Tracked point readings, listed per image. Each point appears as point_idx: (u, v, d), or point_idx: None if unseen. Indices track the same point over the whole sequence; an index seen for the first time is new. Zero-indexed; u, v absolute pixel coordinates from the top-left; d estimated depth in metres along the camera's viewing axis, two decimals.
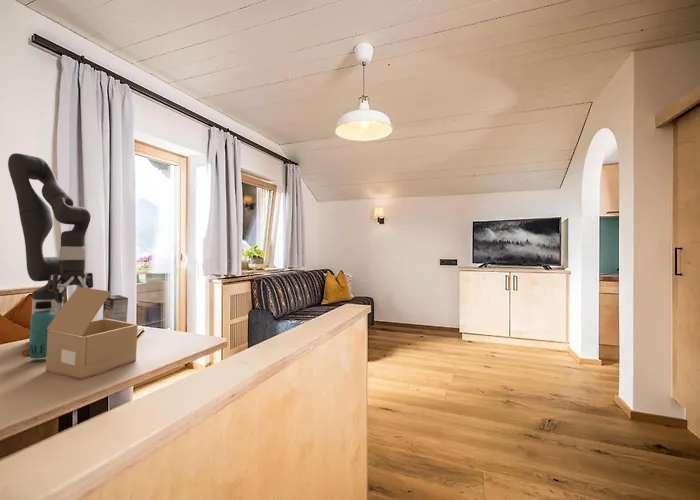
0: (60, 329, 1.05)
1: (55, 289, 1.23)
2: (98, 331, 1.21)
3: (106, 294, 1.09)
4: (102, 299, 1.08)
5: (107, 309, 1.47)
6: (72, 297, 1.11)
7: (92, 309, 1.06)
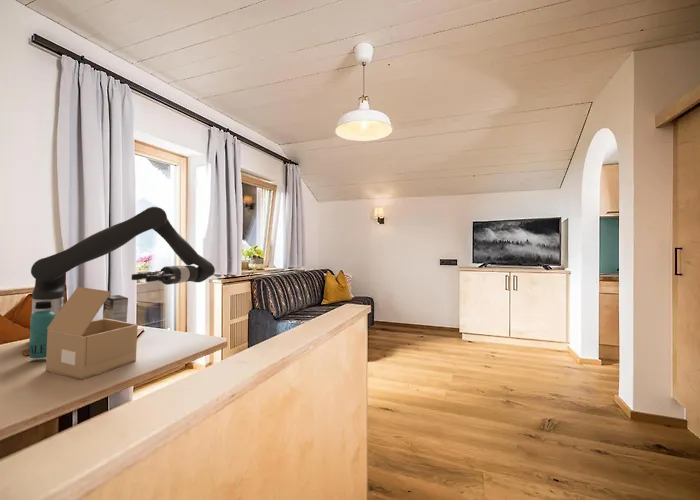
0: (60, 329, 1.05)
1: None
2: (98, 331, 1.21)
3: (106, 294, 1.09)
4: (102, 299, 1.08)
5: (107, 309, 1.47)
6: (72, 297, 1.11)
7: (92, 309, 1.06)
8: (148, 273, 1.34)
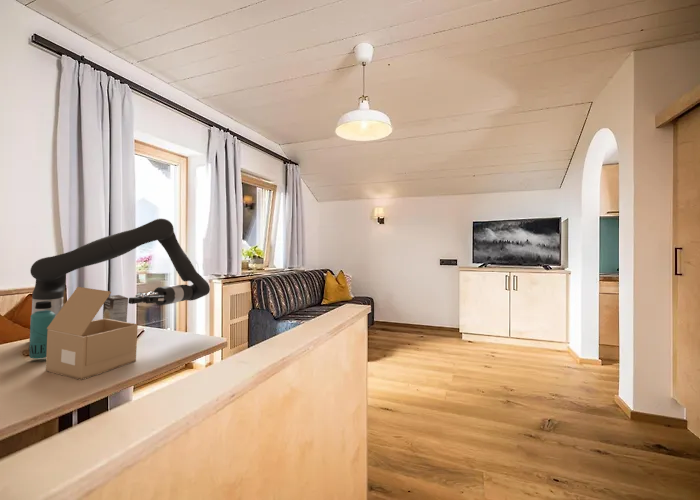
0: (60, 329, 1.05)
1: None
2: (98, 331, 1.21)
3: (106, 294, 1.09)
4: (102, 299, 1.08)
5: (107, 309, 1.47)
6: (72, 297, 1.11)
7: (92, 309, 1.06)
8: (145, 295, 1.31)
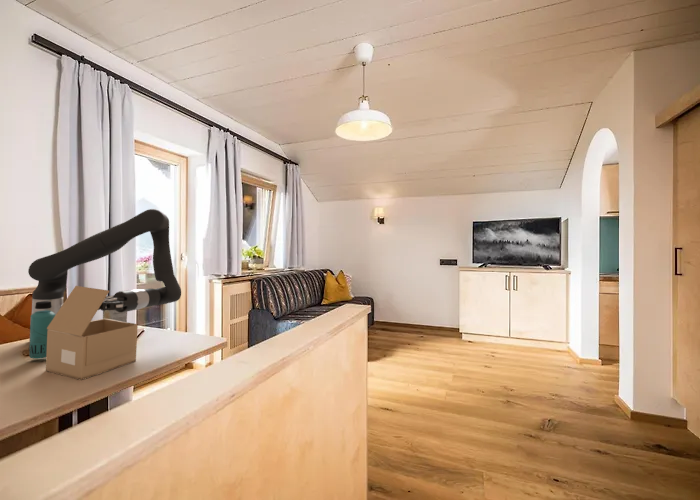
0: (59, 329, 1.05)
1: None
2: (98, 331, 1.21)
3: (104, 293, 1.08)
4: (100, 298, 1.07)
5: None
6: (71, 297, 1.11)
7: (90, 308, 1.06)
8: None
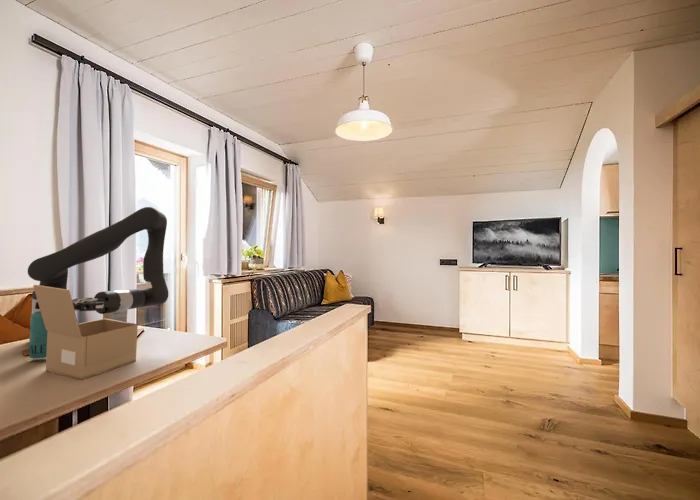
0: (57, 330, 1.04)
1: None
2: (98, 331, 1.21)
3: (66, 294, 0.98)
4: (67, 299, 0.98)
5: None
6: (39, 298, 1.03)
7: (67, 310, 1.00)
8: (80, 301, 1.08)
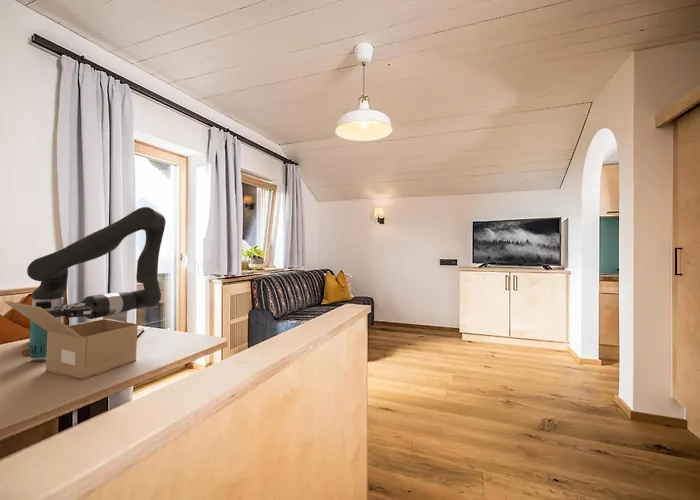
0: (57, 332, 1.04)
1: None
2: (98, 331, 1.21)
3: (41, 311, 0.92)
4: (46, 314, 0.93)
5: None
6: (19, 311, 0.98)
7: (53, 321, 0.96)
8: (67, 307, 1.05)
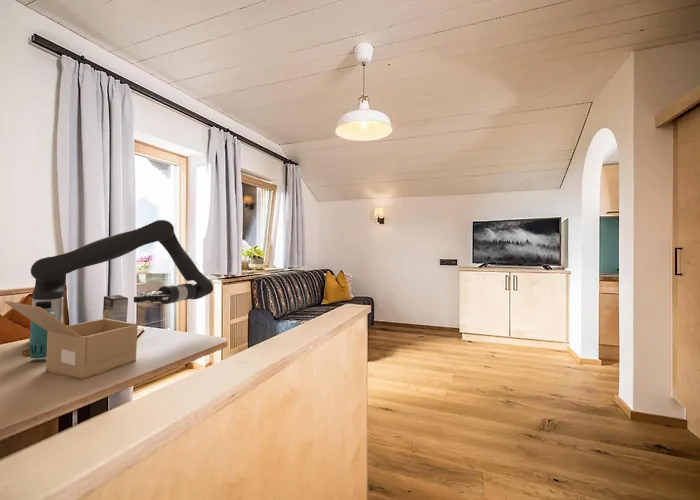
0: (57, 332, 1.04)
1: None
2: (98, 331, 1.21)
3: (41, 311, 0.92)
4: (46, 314, 0.93)
5: (107, 309, 1.47)
6: (19, 311, 0.98)
7: (53, 321, 0.96)
8: (149, 294, 1.32)
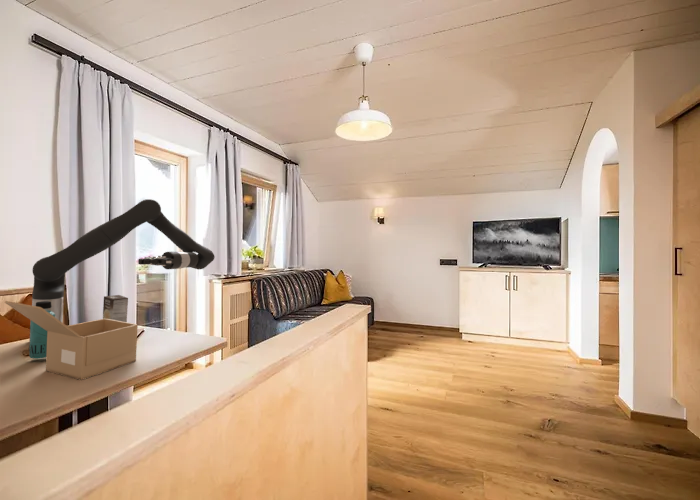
0: (57, 332, 1.04)
1: (156, 264, 1.34)
2: (98, 331, 1.21)
3: (41, 311, 0.92)
4: (46, 314, 0.93)
5: (107, 309, 1.47)
6: (19, 311, 0.98)
7: (53, 321, 0.96)
8: (153, 258, 1.37)
